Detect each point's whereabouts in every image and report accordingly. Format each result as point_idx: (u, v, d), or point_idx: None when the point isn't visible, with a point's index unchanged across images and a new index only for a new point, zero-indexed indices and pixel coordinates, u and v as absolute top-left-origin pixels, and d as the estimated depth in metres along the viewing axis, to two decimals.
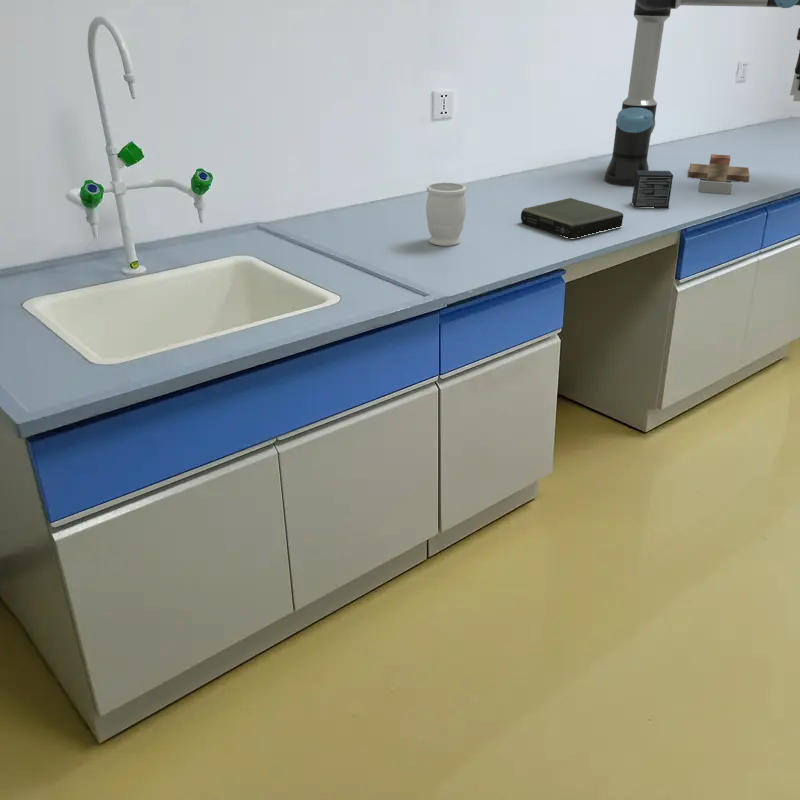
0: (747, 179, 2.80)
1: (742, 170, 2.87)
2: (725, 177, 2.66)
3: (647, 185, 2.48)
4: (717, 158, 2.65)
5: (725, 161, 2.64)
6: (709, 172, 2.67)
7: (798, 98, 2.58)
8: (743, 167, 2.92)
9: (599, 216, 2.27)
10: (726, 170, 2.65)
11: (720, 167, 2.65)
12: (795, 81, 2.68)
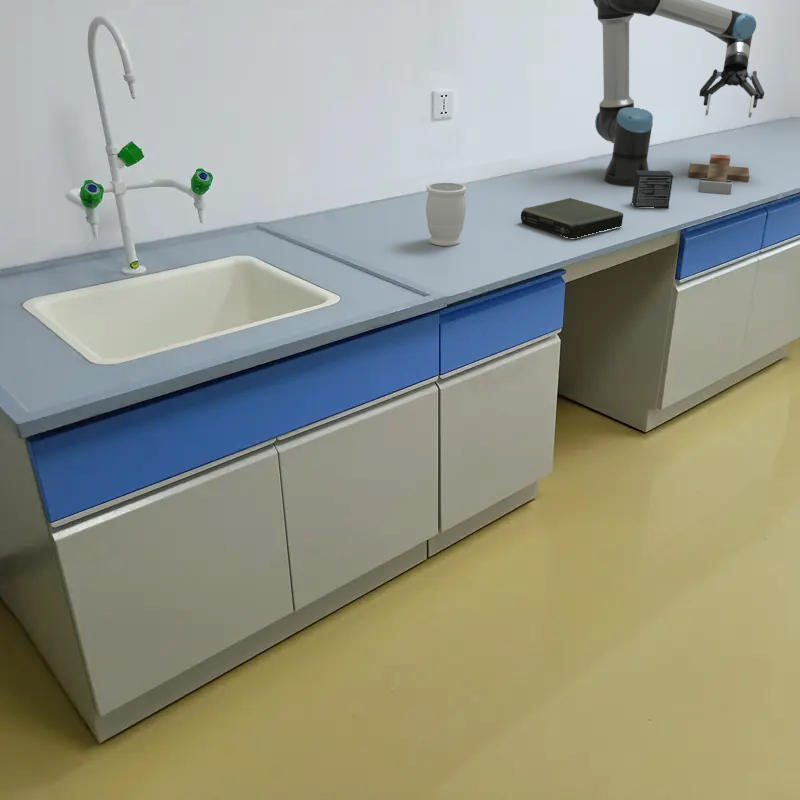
0: (747, 179, 2.80)
1: (742, 170, 2.87)
2: (725, 177, 2.66)
3: (647, 185, 2.48)
4: (717, 158, 2.65)
5: (725, 161, 2.64)
6: (709, 172, 2.67)
7: (751, 112, 2.68)
8: (743, 167, 2.92)
9: (599, 216, 2.27)
10: (726, 170, 2.65)
11: (720, 167, 2.65)
12: None
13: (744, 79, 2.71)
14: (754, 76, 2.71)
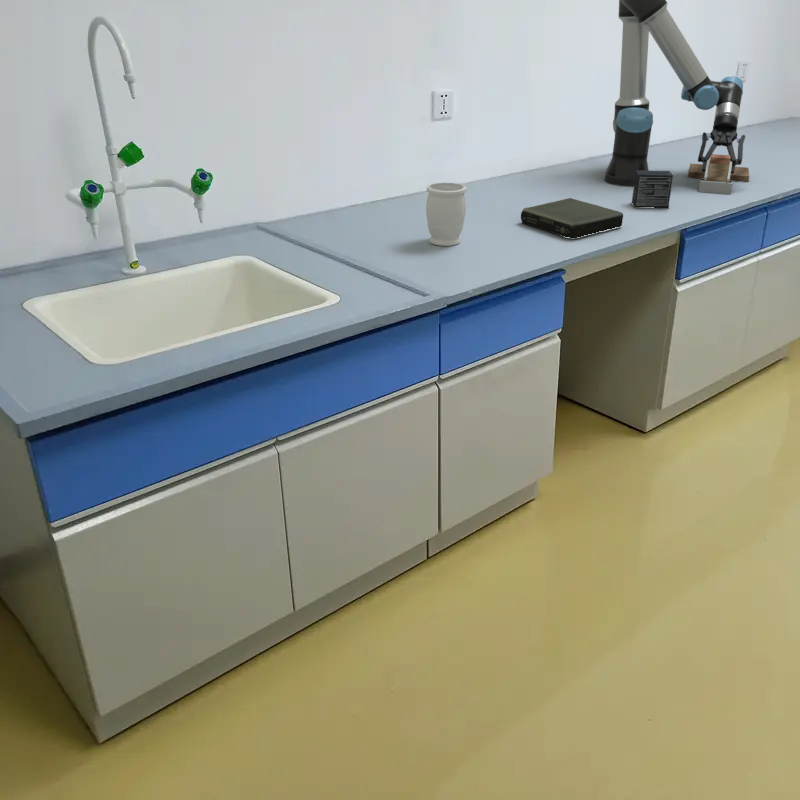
0: (747, 179, 2.80)
1: (742, 170, 2.87)
2: (725, 177, 2.66)
3: (647, 185, 2.48)
4: (717, 158, 2.65)
5: (725, 161, 2.64)
6: (709, 172, 2.67)
7: None
8: (743, 167, 2.92)
9: (599, 216, 2.27)
10: (726, 170, 2.65)
11: (720, 167, 2.65)
12: (708, 167, 2.68)
13: (730, 142, 2.68)
14: (741, 140, 2.68)
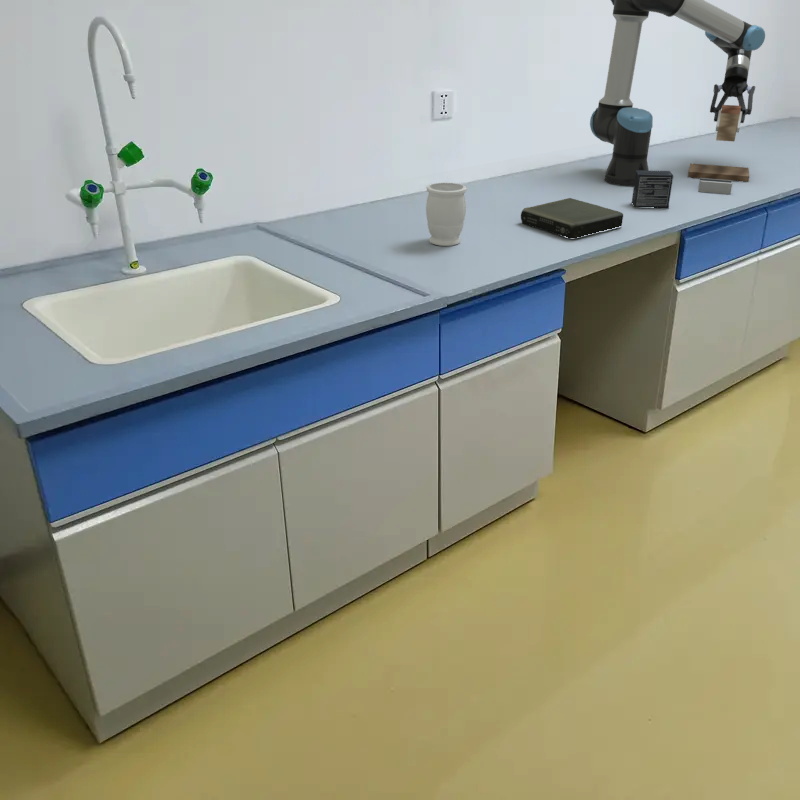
0: (747, 179, 2.80)
1: (742, 170, 2.87)
2: (736, 126, 2.77)
3: (647, 185, 2.48)
4: (728, 108, 2.76)
5: (735, 110, 2.75)
6: (720, 122, 2.78)
7: None
8: (743, 167, 2.92)
9: (599, 216, 2.27)
10: (737, 119, 2.76)
11: (730, 117, 2.77)
12: None
13: (740, 92, 2.79)
14: (751, 91, 2.79)
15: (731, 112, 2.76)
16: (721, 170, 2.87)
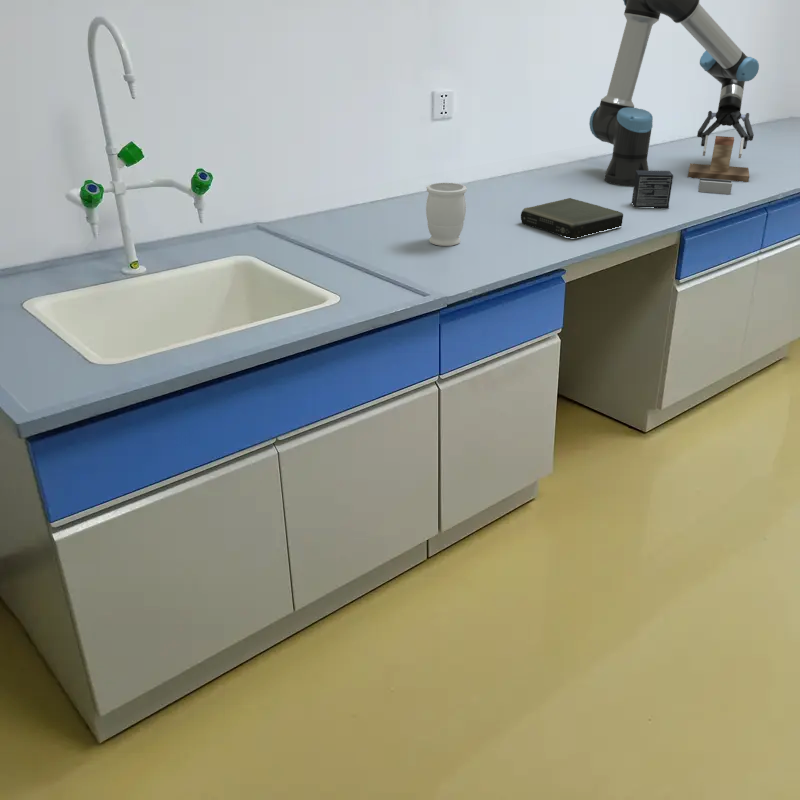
0: (747, 179, 2.80)
1: (742, 170, 2.87)
2: (729, 157, 2.83)
3: (647, 185, 2.48)
4: (722, 139, 2.81)
5: (729, 142, 2.81)
6: (714, 153, 2.84)
7: (741, 154, 2.82)
8: (743, 167, 2.92)
9: (599, 216, 2.27)
10: (730, 151, 2.82)
11: (724, 148, 2.82)
12: None
13: (736, 120, 2.84)
14: (746, 118, 2.84)
15: (724, 143, 2.82)
16: None
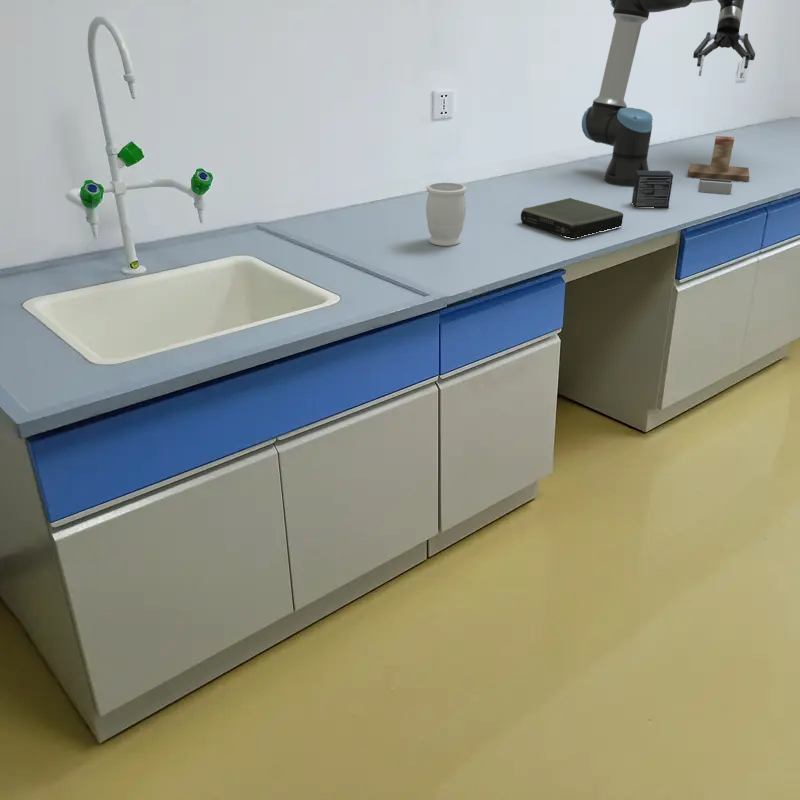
0: (747, 179, 2.80)
1: (742, 170, 2.87)
2: (729, 157, 2.83)
3: (647, 185, 2.48)
4: (722, 139, 2.81)
5: (729, 142, 2.81)
6: (714, 153, 2.84)
7: None
8: (743, 167, 2.92)
9: (599, 216, 2.27)
10: (730, 151, 2.82)
11: (724, 148, 2.82)
12: None
13: (736, 41, 2.82)
14: (746, 38, 2.82)
15: (724, 143, 2.82)
16: None
